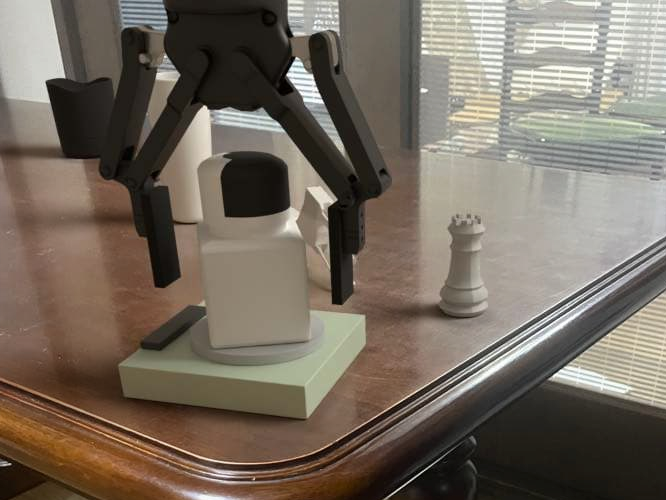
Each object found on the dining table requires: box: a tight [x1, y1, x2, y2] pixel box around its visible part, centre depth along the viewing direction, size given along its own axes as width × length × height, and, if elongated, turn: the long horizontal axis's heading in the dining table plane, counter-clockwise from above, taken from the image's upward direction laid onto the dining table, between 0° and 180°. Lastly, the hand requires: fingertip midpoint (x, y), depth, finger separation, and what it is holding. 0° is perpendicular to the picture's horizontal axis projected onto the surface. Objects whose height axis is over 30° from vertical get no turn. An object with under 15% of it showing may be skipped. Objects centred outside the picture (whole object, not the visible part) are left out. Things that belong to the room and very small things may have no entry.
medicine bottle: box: [195, 150, 311, 349], centre depth 62 cm, size 7×7×12 cm
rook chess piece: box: [437, 212, 489, 318], centre depth 76 cm, size 4×4×8 cm
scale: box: [117, 299, 367, 420], centre depth 66 cm, size 14×14×3 cm
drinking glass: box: [146, 71, 213, 224], centre depth 99 cm, size 7×7×15 cm
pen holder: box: [44, 76, 116, 159], centre depth 132 cm, size 9×9×10 cm
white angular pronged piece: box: [291, 186, 359, 286], centre depth 87 cm, size 2×11×18 cm
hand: (253, 290), depth 63 cm, fingers open, 13 cm apart
